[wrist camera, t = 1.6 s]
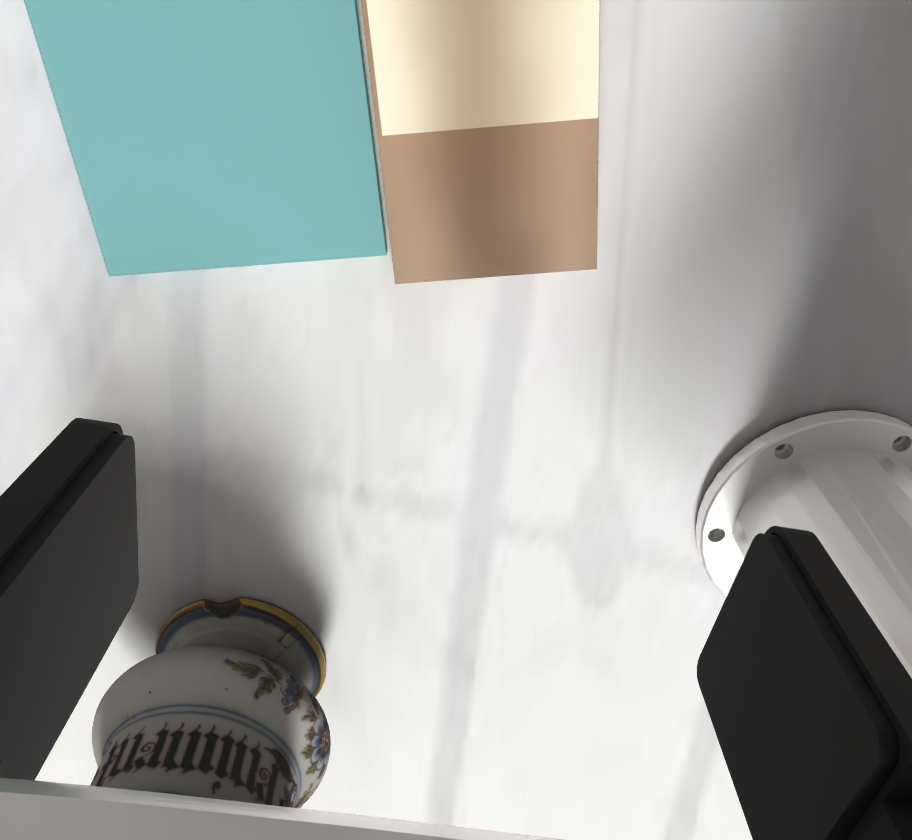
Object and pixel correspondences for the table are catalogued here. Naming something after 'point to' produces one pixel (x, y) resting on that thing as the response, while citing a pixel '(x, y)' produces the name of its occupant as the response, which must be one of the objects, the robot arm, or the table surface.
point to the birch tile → (483, 62)
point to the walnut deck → (489, 197)
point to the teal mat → (216, 129)
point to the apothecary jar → (219, 709)
